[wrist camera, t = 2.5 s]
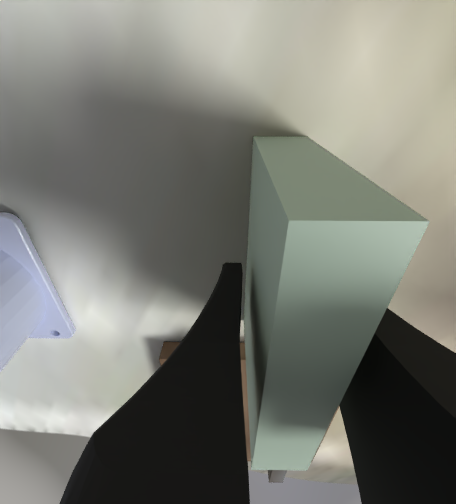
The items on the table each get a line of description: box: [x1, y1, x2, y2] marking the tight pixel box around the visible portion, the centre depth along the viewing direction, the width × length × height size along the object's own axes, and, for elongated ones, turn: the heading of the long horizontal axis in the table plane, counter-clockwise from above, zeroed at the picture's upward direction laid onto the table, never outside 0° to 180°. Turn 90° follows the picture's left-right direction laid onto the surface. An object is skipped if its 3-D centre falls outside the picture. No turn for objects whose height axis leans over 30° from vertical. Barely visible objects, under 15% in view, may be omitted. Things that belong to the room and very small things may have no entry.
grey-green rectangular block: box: [244, 136, 430, 470], centre depth 9 cm, size 2×10×7 cm, turn 0°
